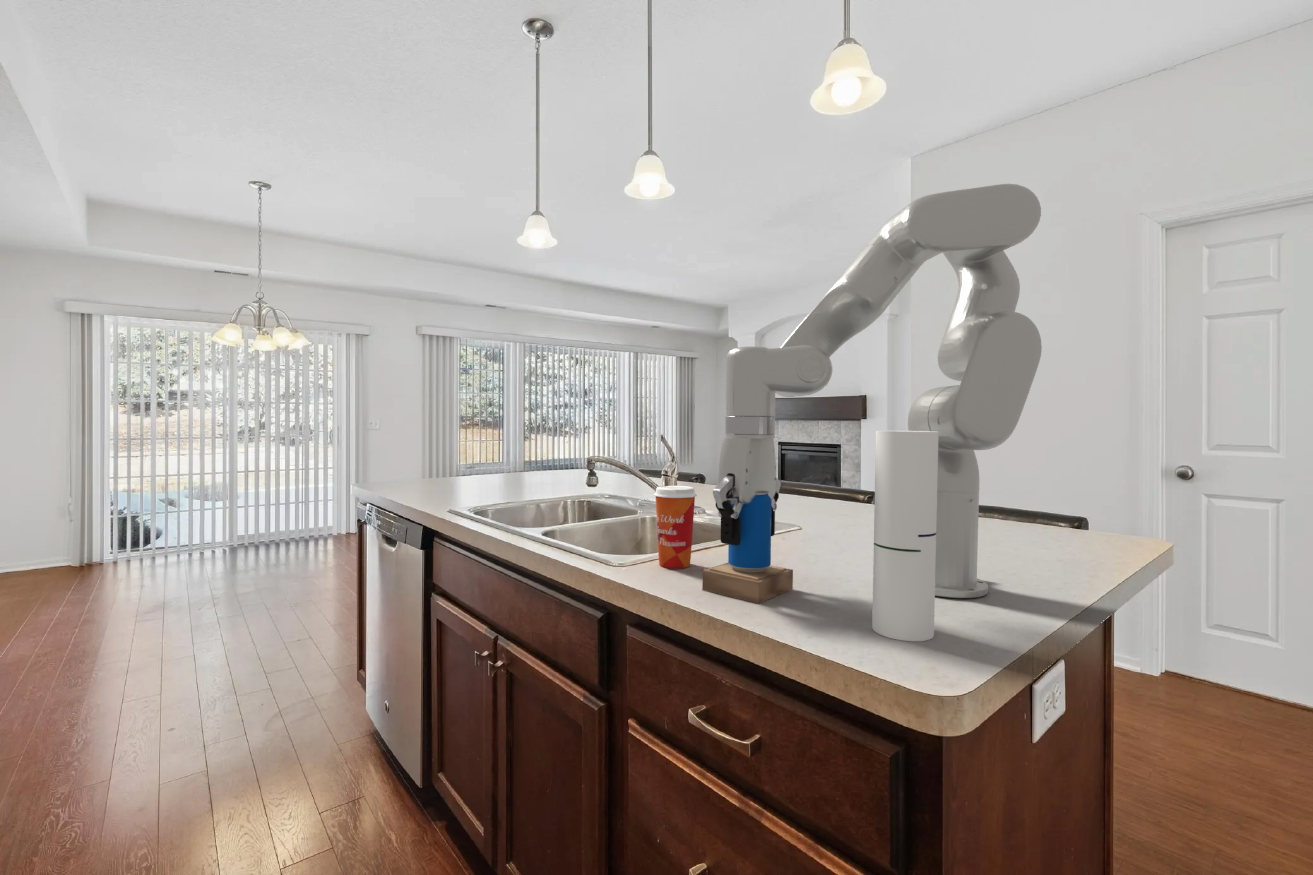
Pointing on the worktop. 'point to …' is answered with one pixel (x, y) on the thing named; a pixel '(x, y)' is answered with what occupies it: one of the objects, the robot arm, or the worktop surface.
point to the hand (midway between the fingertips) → (748, 539)
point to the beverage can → (753, 536)
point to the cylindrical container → (905, 534)
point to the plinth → (748, 582)
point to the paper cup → (675, 525)
